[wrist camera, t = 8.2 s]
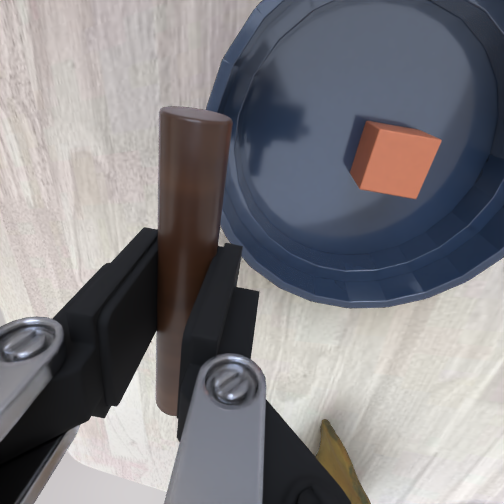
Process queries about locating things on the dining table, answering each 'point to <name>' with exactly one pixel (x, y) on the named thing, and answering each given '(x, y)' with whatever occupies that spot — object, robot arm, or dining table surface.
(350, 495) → the brown looped sculpture
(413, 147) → the block
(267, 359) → the dining table surface
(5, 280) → the dining table surface
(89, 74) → the dining table surface
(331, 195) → the bowl
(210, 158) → the stick
